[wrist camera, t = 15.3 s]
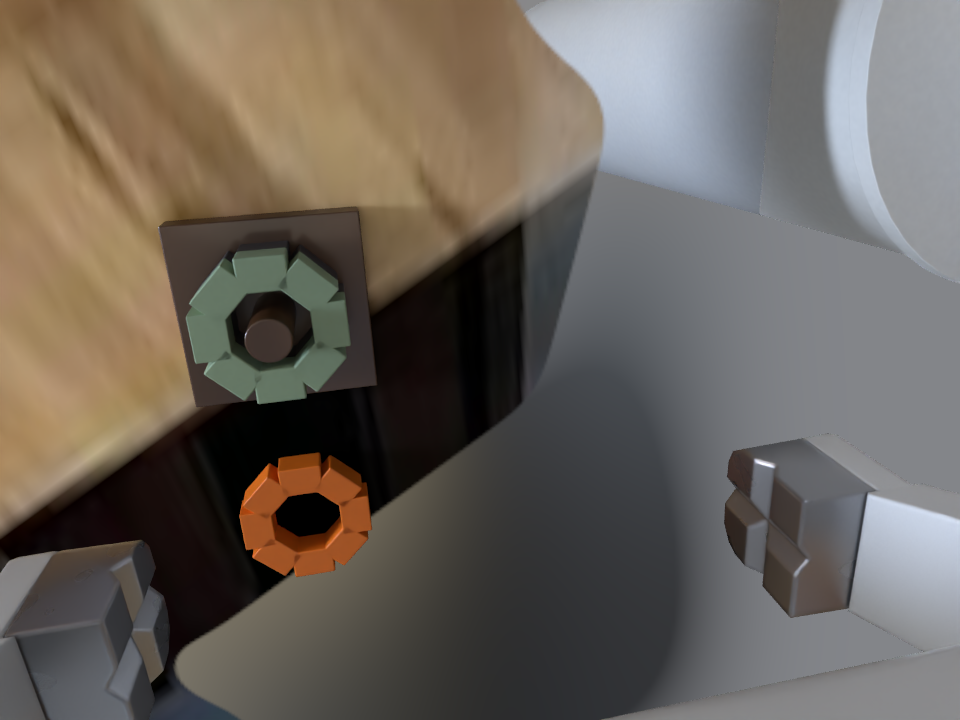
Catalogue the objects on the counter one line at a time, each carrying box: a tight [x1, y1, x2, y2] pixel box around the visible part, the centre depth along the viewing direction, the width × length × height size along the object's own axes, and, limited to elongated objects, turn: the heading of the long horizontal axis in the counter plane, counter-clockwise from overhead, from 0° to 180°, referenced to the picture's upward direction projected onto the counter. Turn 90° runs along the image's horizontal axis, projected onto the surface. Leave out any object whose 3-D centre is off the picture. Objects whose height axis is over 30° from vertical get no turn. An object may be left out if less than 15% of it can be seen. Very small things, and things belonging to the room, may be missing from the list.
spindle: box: [158, 206, 377, 407], centre depth 33 cm, size 9×9×6 cm
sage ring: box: [186, 247, 351, 404], centre depth 32 cm, size 7×7×2 cm
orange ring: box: [240, 453, 372, 577], centre depth 39 cm, size 7×7×2 cm
